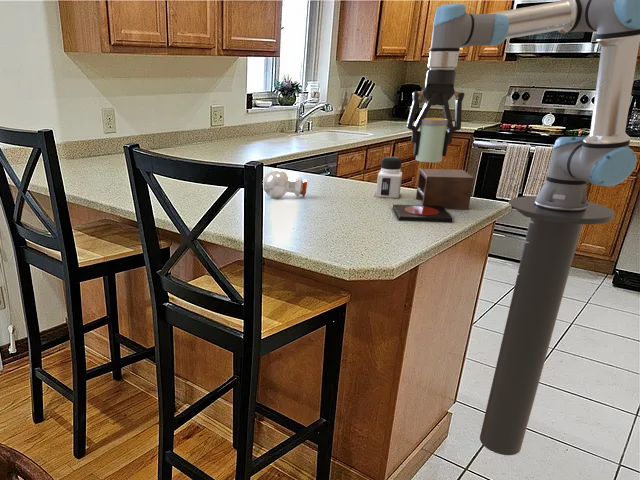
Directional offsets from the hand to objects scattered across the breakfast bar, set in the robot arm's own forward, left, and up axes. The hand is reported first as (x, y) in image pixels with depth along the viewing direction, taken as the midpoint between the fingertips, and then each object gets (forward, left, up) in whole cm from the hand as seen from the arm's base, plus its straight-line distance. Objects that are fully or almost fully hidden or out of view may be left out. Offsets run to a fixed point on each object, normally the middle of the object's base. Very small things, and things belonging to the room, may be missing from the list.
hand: (429, 154), depth 152 cm
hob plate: (0, 0, -18) cm, 18 cm away
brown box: (-9, -16, -18) cm, 26 cm away
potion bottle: (+43, -18, -18) cm, 50 cm away
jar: (0, 0, -2) cm, 2 cm away
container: (+7, -26, -18) cm, 32 cm away
